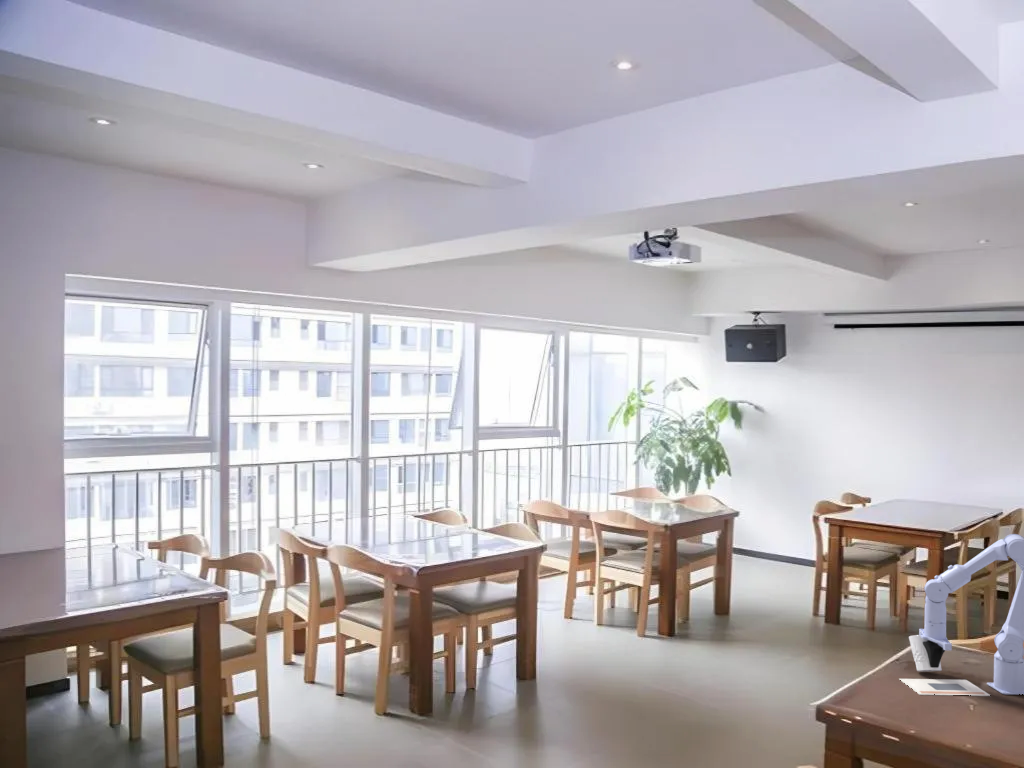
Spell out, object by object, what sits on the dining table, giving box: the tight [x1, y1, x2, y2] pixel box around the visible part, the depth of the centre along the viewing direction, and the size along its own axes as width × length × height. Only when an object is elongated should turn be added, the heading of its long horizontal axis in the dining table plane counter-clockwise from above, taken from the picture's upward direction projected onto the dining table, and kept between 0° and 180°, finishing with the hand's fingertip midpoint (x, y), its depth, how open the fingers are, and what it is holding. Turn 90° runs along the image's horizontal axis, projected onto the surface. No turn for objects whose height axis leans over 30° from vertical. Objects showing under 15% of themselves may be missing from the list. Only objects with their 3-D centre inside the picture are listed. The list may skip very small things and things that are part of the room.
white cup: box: [908, 634, 942, 672], centre depth 243 cm, size 8×8×10 cm
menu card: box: [898, 678, 991, 697], centre depth 231 cm, size 20×12×1 cm, turn 90°
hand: (934, 667), depth 238 cm, fingers closed
